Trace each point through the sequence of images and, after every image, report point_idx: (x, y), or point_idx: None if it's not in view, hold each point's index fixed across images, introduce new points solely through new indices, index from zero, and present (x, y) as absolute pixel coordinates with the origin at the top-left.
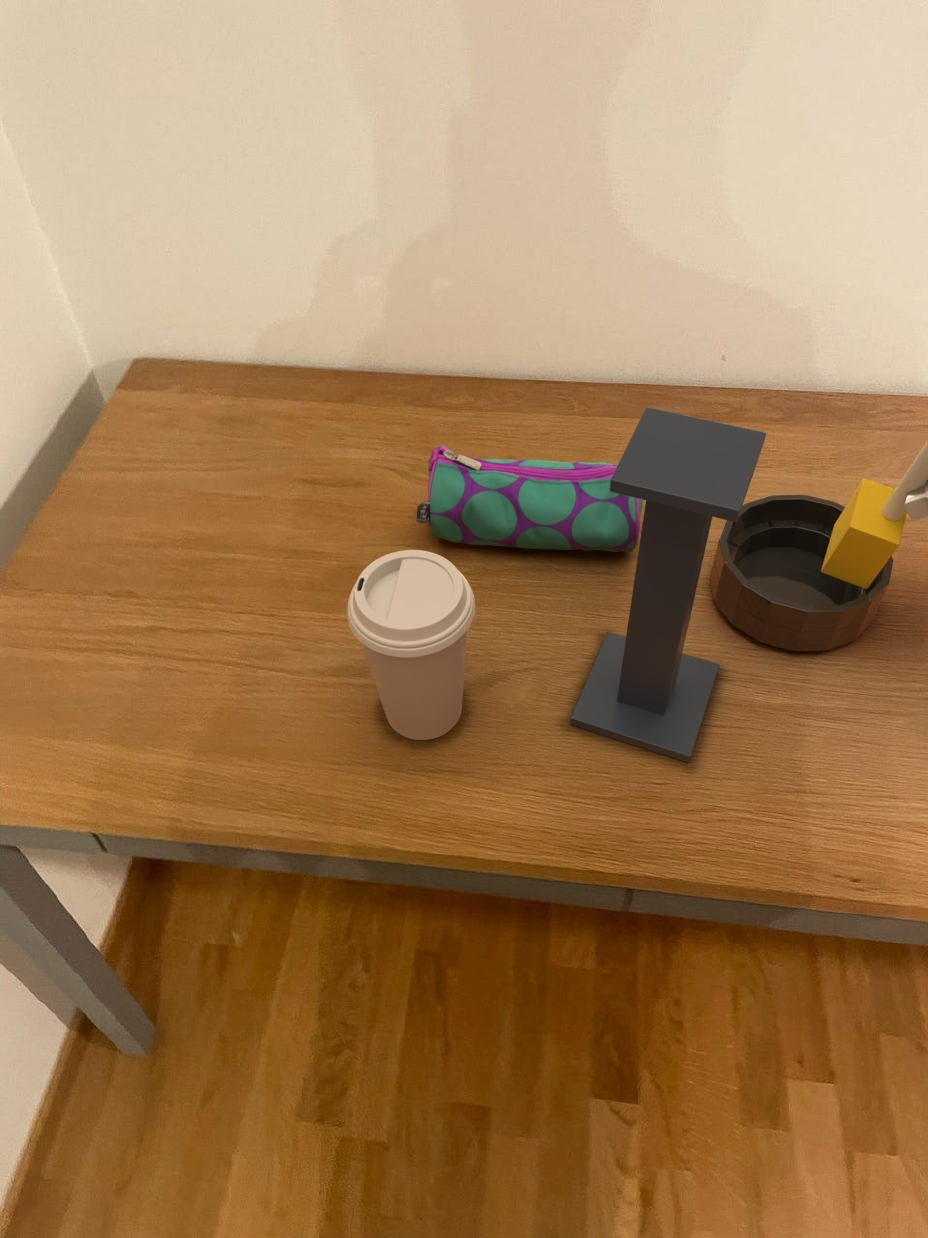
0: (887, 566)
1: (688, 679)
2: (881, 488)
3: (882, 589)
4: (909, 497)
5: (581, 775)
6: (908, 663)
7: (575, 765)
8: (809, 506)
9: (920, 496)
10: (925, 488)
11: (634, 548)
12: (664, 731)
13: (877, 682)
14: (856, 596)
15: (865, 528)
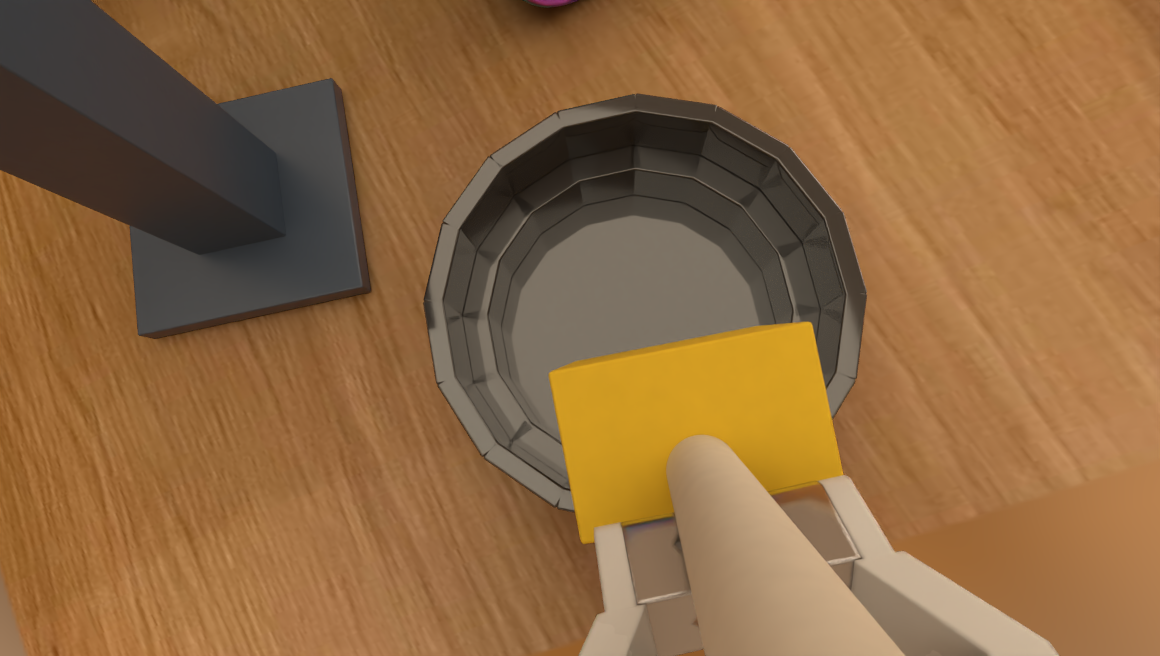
0: None
1: (296, 254)
2: (803, 397)
3: None
4: (629, 536)
5: (56, 202)
6: (591, 613)
7: None
8: (822, 245)
9: (613, 589)
10: (669, 596)
11: (530, 1)
12: (166, 272)
13: (506, 572)
14: None
15: (573, 420)
